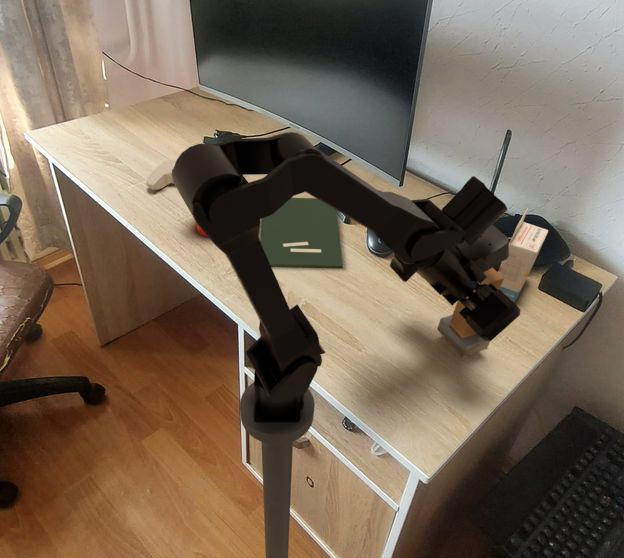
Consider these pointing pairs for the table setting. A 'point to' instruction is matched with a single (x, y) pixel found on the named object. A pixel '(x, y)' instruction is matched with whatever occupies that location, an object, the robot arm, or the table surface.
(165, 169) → the game controller
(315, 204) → the chalkboard
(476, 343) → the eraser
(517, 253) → the ink box
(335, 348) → the table surface
